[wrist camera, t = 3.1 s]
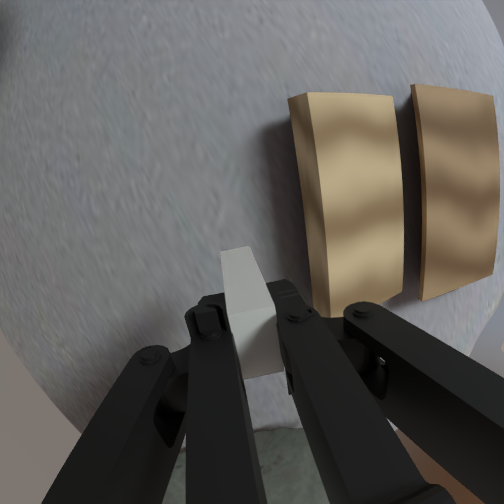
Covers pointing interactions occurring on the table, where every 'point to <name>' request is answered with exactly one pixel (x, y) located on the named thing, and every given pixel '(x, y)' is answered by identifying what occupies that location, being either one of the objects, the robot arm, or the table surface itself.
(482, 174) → the board
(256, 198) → the table surface
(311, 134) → the plank
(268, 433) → the rock
